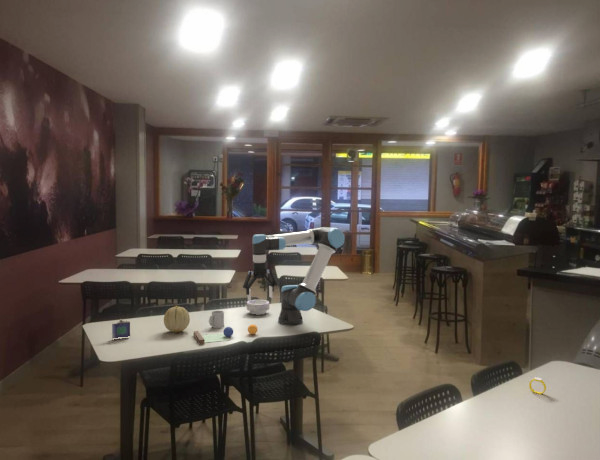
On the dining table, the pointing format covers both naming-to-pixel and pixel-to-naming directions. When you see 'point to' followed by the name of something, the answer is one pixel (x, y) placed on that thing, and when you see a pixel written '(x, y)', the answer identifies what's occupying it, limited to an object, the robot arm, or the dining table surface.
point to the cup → (217, 319)
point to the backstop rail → (199, 337)
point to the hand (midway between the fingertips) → (260, 299)
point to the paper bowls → (258, 306)
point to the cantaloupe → (176, 319)
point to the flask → (121, 329)
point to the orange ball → (252, 329)
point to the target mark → (215, 338)
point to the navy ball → (228, 331)
